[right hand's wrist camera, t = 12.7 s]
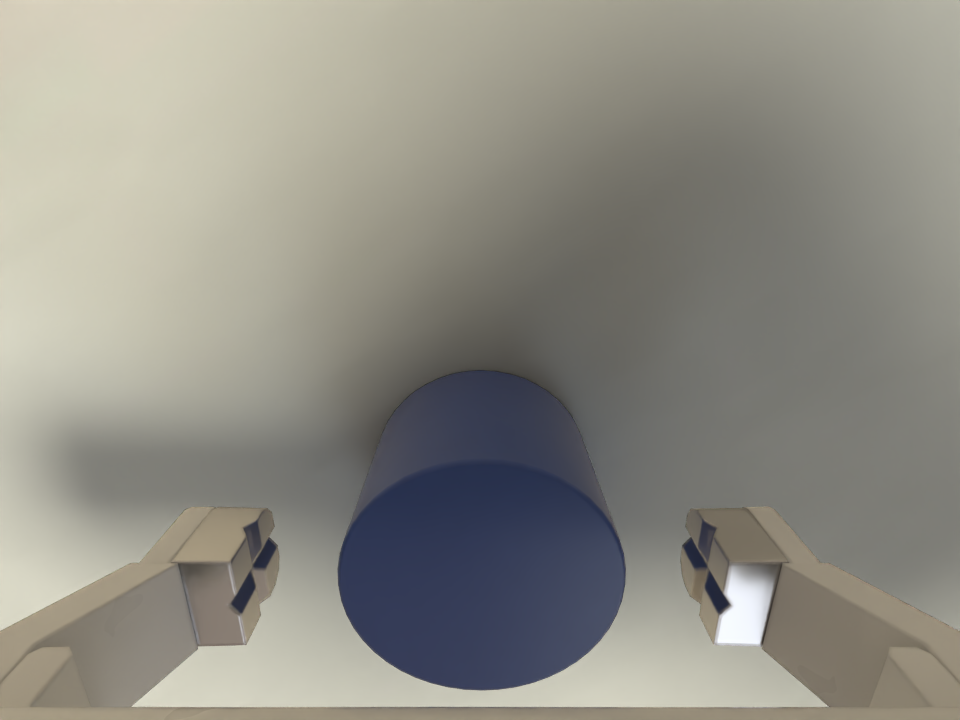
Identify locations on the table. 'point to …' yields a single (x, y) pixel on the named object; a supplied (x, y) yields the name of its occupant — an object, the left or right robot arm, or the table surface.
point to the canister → (481, 538)
